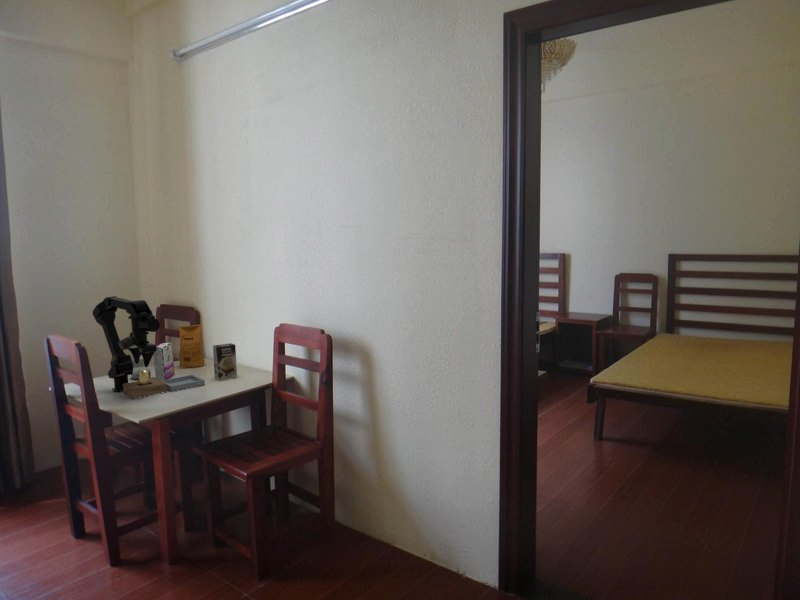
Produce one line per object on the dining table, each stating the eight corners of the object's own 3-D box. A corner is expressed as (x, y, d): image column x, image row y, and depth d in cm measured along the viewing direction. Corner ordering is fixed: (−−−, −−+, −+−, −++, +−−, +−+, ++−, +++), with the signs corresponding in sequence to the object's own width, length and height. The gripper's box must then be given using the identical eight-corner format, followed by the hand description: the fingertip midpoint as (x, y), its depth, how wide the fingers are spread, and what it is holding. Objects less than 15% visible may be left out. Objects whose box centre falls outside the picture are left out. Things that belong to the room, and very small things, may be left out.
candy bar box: (164, 375, 272) (162, 342, 270) (174, 375, 272) (172, 342, 270) (154, 381, 261) (152, 347, 259) (165, 381, 261) (162, 347, 259)
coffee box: (218, 381, 259) (216, 347, 257) (214, 378, 264) (212, 345, 262) (237, 377, 264) (235, 344, 262) (233, 375, 269) (231, 342, 267)
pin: (138, 392, 243) (137, 370, 241) (148, 390, 245) (146, 368, 244) (141, 394, 240) (139, 372, 238) (151, 392, 242) (149, 370, 241)
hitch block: (123, 392, 243) (122, 383, 242) (156, 386, 252) (155, 377, 252) (133, 399, 233) (132, 390, 232) (167, 392, 242) (166, 383, 241)
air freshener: (151, 379, 266) (149, 358, 264) (132, 381, 262) (130, 361, 261) (149, 374, 275) (147, 354, 274) (131, 376, 271) (129, 356, 270)
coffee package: (181, 364, 294) (178, 324, 291) (205, 363, 296) (203, 322, 293) (178, 369, 284) (174, 327, 281) (203, 367, 287) (200, 325, 284)
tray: (160, 386, 252) (160, 380, 252) (192, 379, 262) (192, 374, 262) (171, 392, 242) (170, 386, 242) (204, 385, 252) (204, 379, 252)
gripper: (110, 329, 237) (113, 365, 239) (129, 335, 224) (131, 372, 226) (137, 326, 245) (139, 360, 247) (156, 331, 233) (158, 367, 235)
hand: (141, 365), depth 238 cm, fingers open, 9 cm apart
